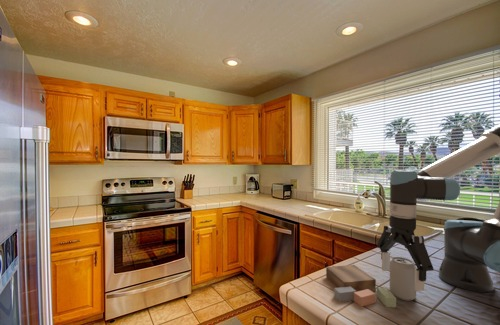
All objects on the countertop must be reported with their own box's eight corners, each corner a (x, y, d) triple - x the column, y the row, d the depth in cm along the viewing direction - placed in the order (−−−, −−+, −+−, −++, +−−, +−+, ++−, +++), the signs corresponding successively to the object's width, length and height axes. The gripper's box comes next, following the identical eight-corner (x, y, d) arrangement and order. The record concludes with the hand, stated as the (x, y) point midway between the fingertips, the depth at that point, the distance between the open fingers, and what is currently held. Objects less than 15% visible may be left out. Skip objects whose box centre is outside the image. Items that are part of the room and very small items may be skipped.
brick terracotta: (368, 298, 77) (368, 288, 77) (375, 303, 74) (375, 293, 74) (353, 301, 75) (353, 292, 75) (361, 307, 72) (361, 297, 72)
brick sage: (376, 296, 78) (376, 287, 78) (386, 296, 78) (386, 287, 78) (386, 307, 72) (386, 297, 72) (396, 307, 72) (396, 298, 72)
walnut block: (354, 274, 93) (354, 264, 93) (375, 291, 81) (375, 279, 81) (326, 277, 90) (326, 267, 90) (344, 294, 79) (344, 282, 79)
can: (405, 289, 82) (405, 255, 82) (422, 302, 74) (422, 264, 75) (384, 289, 82) (384, 255, 82) (399, 302, 74) (399, 264, 74)
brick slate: (350, 295, 78) (350, 286, 78) (356, 300, 76) (356, 290, 76) (334, 297, 77) (334, 288, 77) (339, 302, 74) (339, 293, 74)
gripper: (367, 209, 90) (366, 264, 90) (427, 226, 65) (426, 302, 65) (384, 208, 91) (383, 263, 91) (449, 225, 67) (448, 299, 67)
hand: (401, 279), depth 78 cm, fingers open, 13 cm apart
